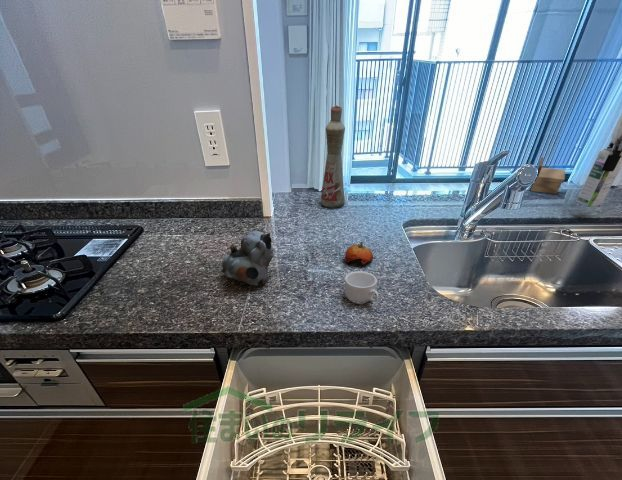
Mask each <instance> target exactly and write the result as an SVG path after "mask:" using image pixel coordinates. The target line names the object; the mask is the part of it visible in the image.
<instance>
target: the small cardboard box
mask: <svg viewBox="0 0 622 480" xmlns="http://www.w3.org/2000/svg"><path fill="white" fill-rule="evenodd" d="M544 160H545V157H540V159H539V162H538V164H537V167H536V169H538V176H537V179H536V181H535V183H532V186H531V189H530V191H531V192H537V193H544V194H550V195H551V194H552V195H557V194H558V192H559V190H560V187H561V185H562V184H564V182H565V179H566V170H565V169H559V168H550V167H543V164H544Z"/></svg>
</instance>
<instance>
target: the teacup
mask: <svg viewBox="0 0 622 480" xmlns="http://www.w3.org/2000/svg"><path fill="white" fill-rule="evenodd" d="M377 284H378V278H377V277H376V276H375V275H374V274H372V273H370V272H368V271H362V270H361V271H360V270H357V271H352V272H351V271H350V272H349V273H347V274H346V275H345V277H344V294H345V296H346V298H347V299H348V301H350V302H351V303H353V304H356V305H363V304H366V303H369V302H376V301H378V300H379V297H380V295H379V292H378V291H377V290H376V289H377ZM374 295H376V297H375V298H374ZM353 301H354V302H353ZM366 301H367V302H366ZM357 302H364V303H357Z"/></svg>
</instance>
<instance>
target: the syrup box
mask: <svg viewBox="0 0 622 480" xmlns="http://www.w3.org/2000/svg"><path fill="white" fill-rule="evenodd" d="M611 151H612V148H607V147H606V148H603V149H601V150H599V152H598V154H597V156H596V158H595V160H594V162H593V164H592V167H591V169H590V170H589V172H588V175H587V177H586V179H585V181H584V184H583V186H582V187H581V190H580V192H579V194H578V196H577V198H576V200H575V203H579V204H581V205H583V206H586V207H587V208H593V207H596V206H599V205H603V203H604V201H605V199H606V197H607V195H608V193H609V191H610V189H611V188H612V186H613V184H614V182H615V180H616V178H617V176H618V174H619V172H620V171H621V169H622V155H621V158H620V159H619V161H618V163H617V165H616V167H615V169H614V171H602V167H603V165H604V163H605V161H606V159H607V157H608V155H609V154H610V153H611Z"/></svg>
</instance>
